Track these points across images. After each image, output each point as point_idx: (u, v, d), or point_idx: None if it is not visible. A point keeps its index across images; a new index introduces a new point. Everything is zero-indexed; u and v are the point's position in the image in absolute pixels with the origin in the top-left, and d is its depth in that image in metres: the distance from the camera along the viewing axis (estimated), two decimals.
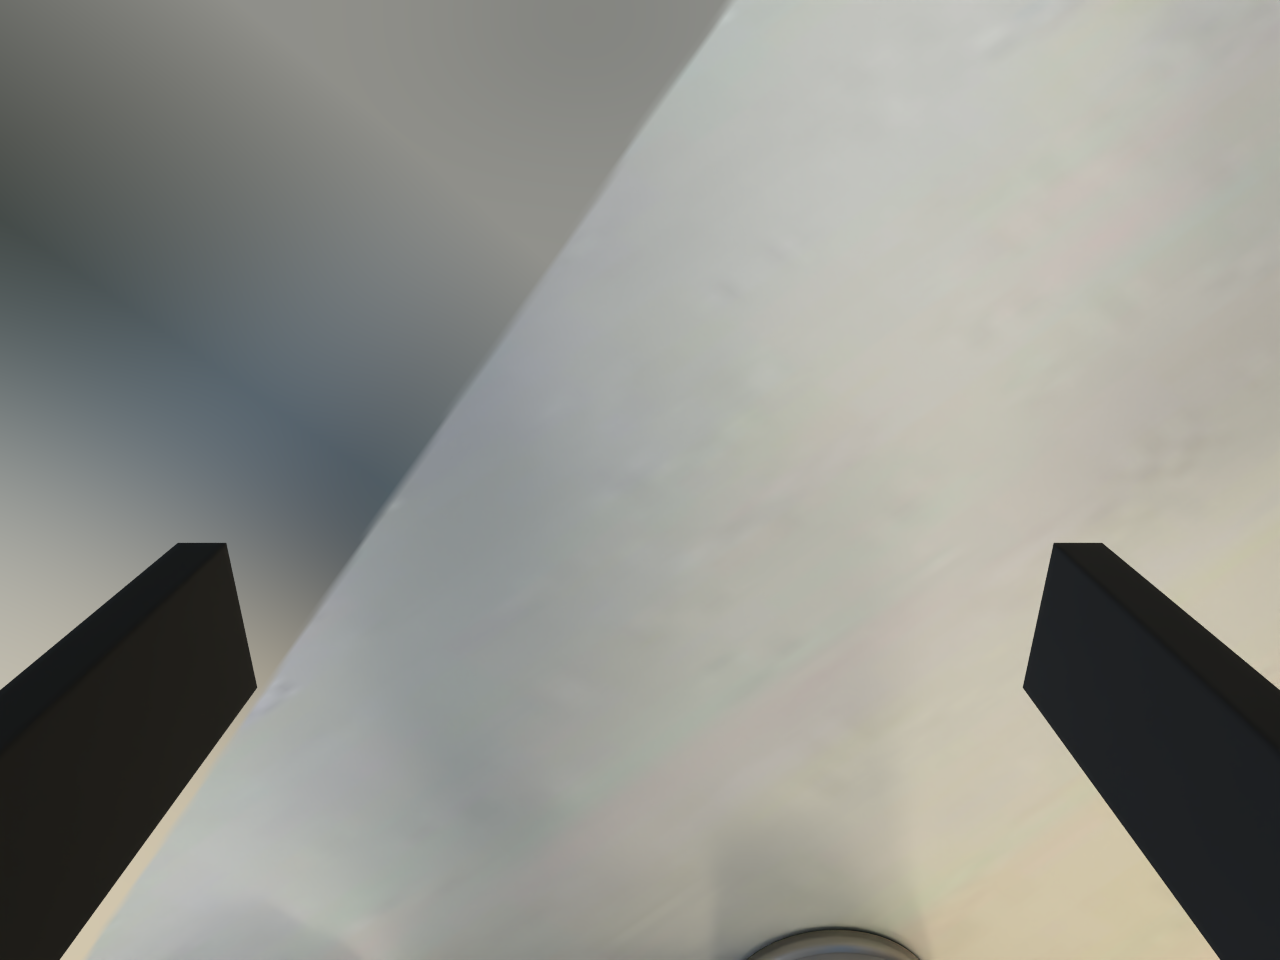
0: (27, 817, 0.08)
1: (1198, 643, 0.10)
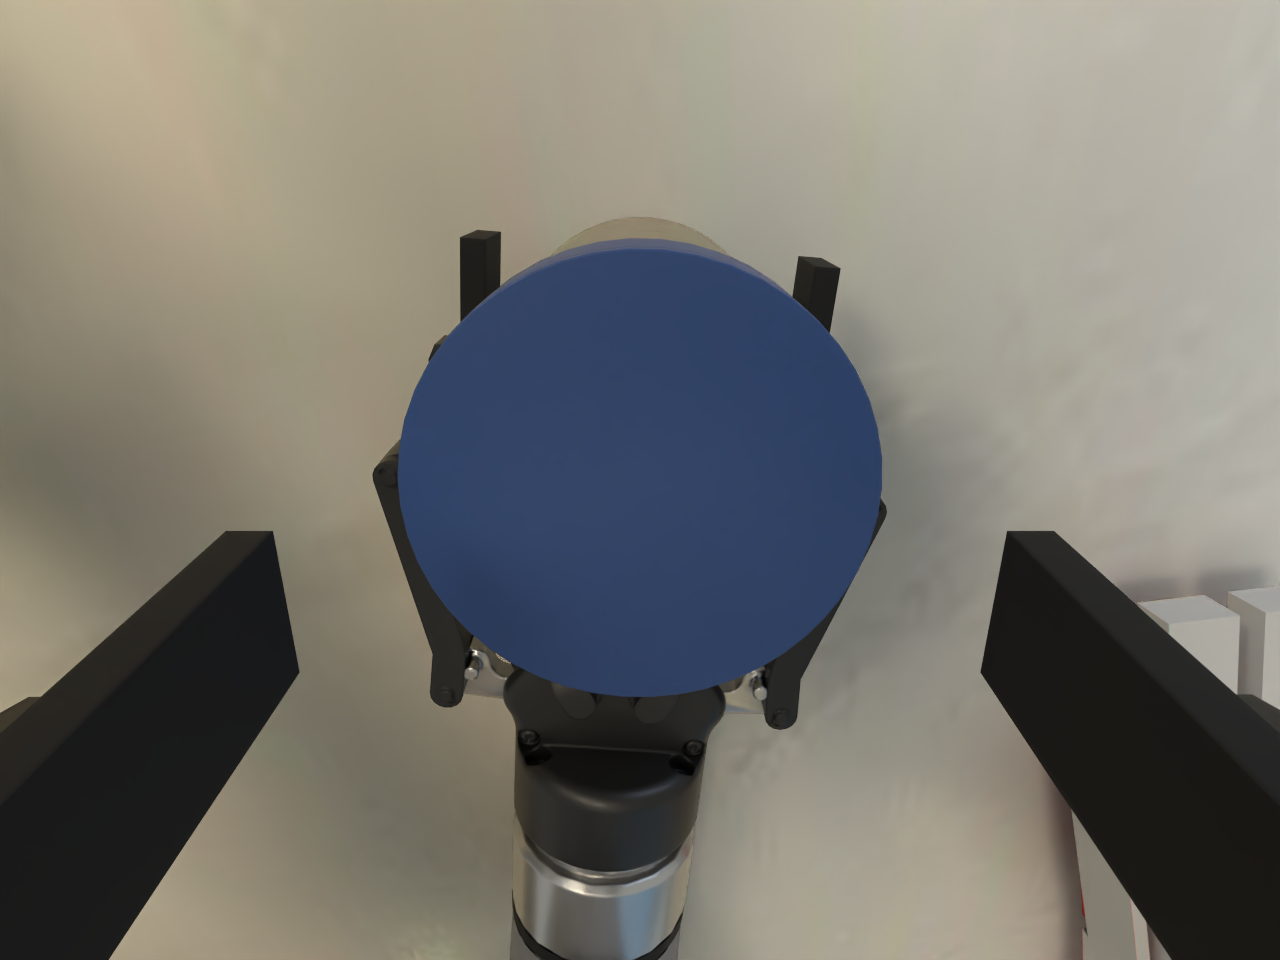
0: (104, 787, 0.09)
1: (1134, 624, 0.10)
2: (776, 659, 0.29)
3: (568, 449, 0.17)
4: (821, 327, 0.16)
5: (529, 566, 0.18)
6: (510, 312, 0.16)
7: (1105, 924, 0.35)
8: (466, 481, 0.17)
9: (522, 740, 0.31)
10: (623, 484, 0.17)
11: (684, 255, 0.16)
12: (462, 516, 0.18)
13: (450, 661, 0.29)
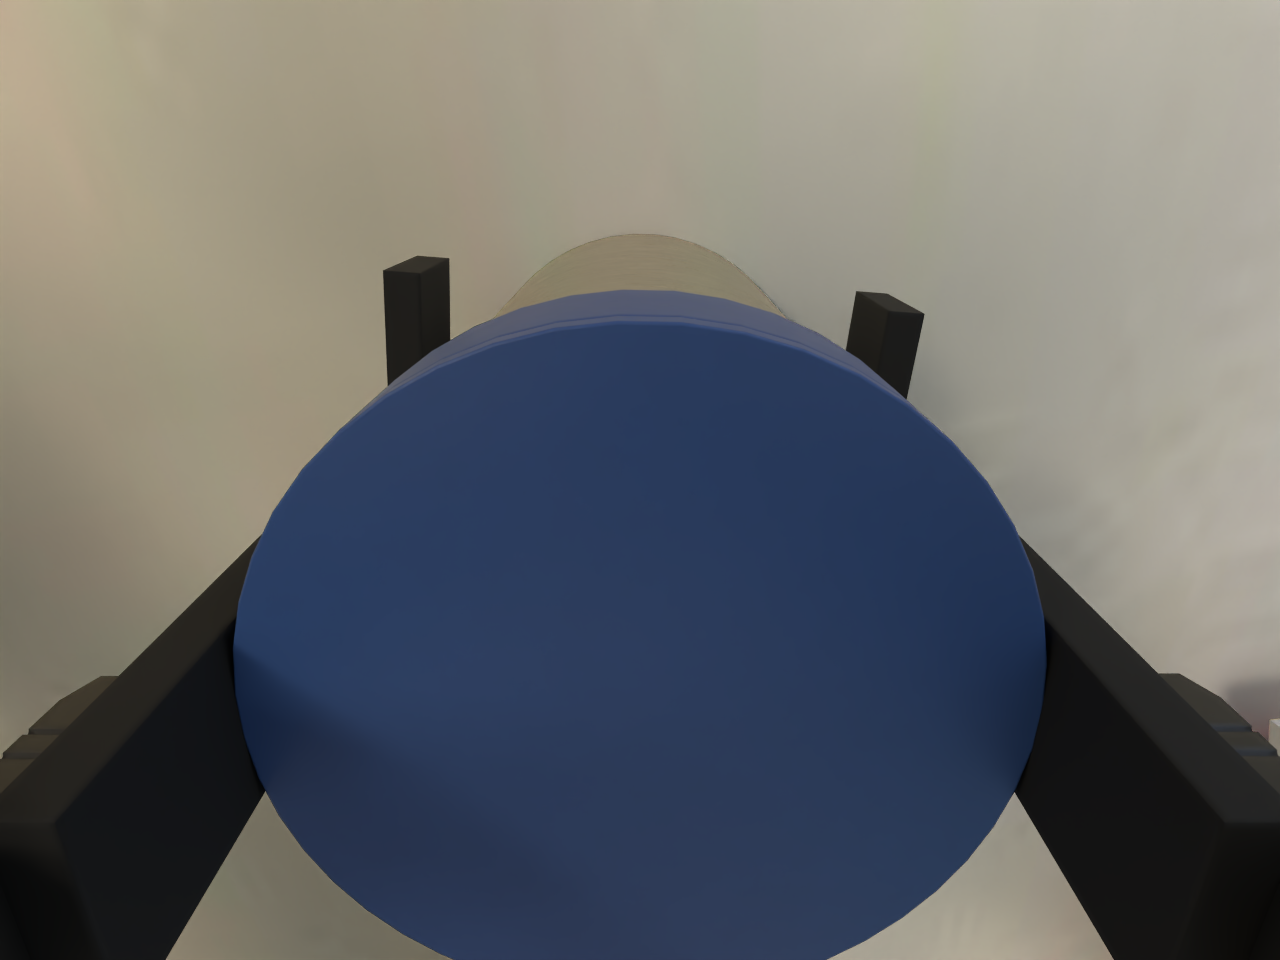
0: (182, 760, 0.09)
1: (1068, 607, 0.11)
2: None
3: (518, 649, 0.10)
4: (960, 455, 0.09)
5: (459, 821, 0.11)
6: (410, 430, 0.09)
7: None
8: (349, 697, 0.10)
9: None
10: (612, 702, 0.10)
11: (720, 333, 0.09)
12: (346, 749, 0.11)
13: None
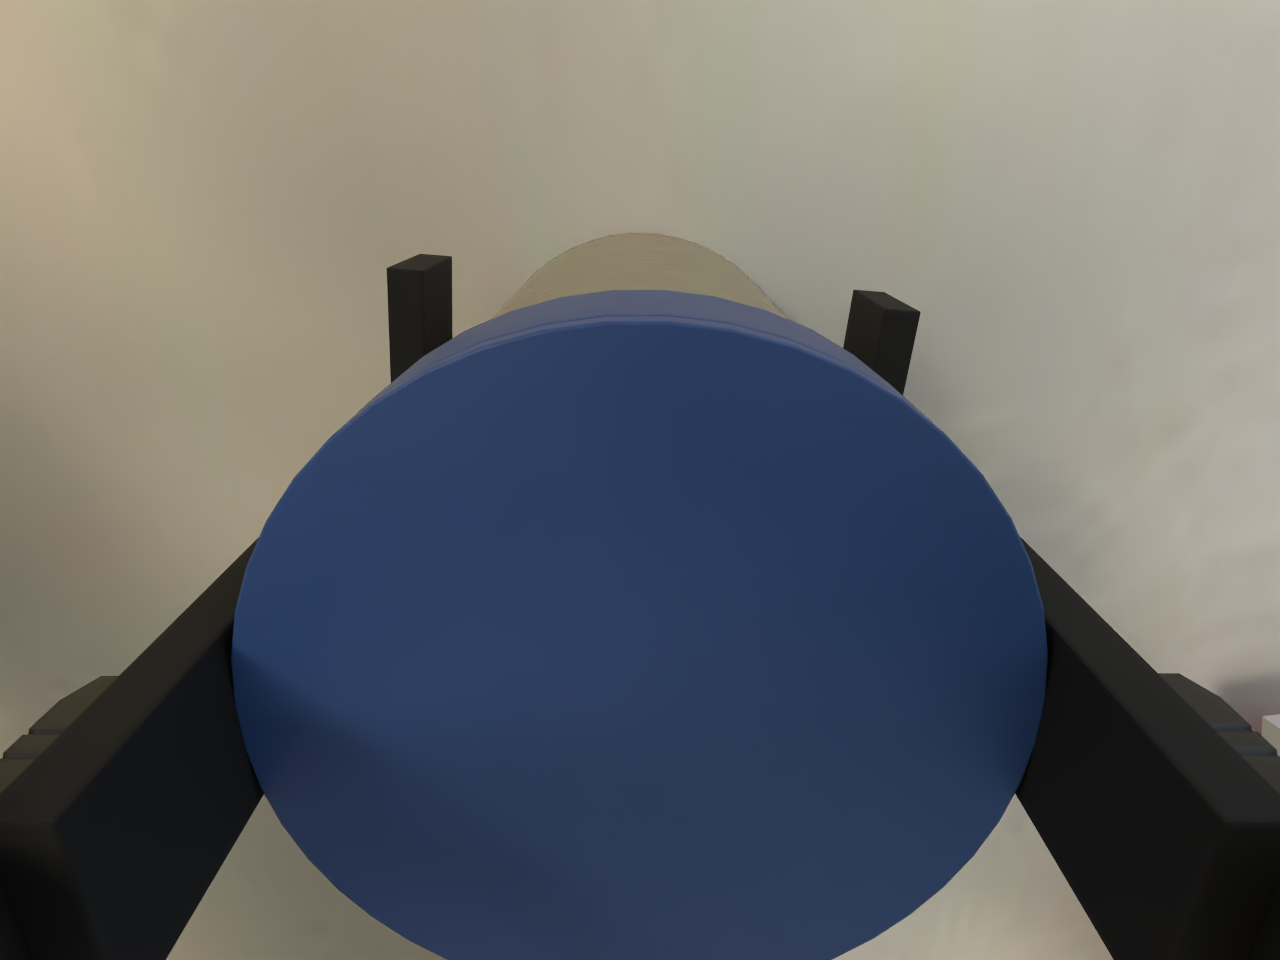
0: (182, 760, 0.09)
1: (1067, 607, 0.11)
2: None
3: (545, 807, 0.11)
4: (342, 432, 0.09)
5: (737, 876, 0.11)
6: (335, 848, 0.11)
7: None
8: (585, 928, 0.12)
9: None
10: (611, 744, 0.11)
11: (235, 631, 0.10)
12: (640, 939, 0.12)
13: None
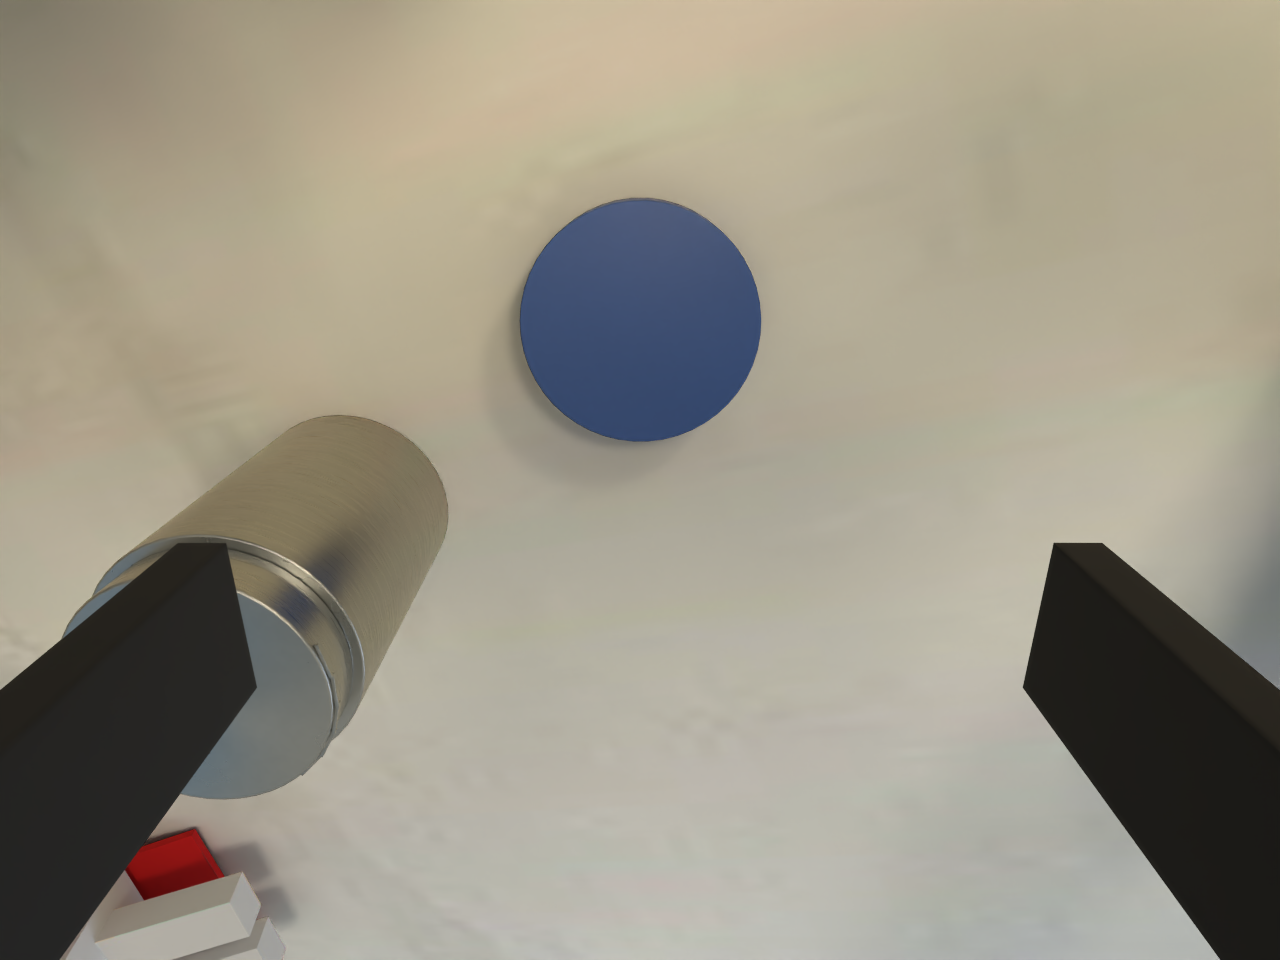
0: (27, 817, 0.08)
1: (1198, 643, 0.10)
2: None
3: (611, 359, 0.36)
4: (561, 231, 0.34)
5: (671, 386, 0.36)
6: (544, 375, 0.36)
7: None
8: (622, 409, 0.36)
9: None
10: (632, 335, 0.35)
11: (523, 294, 0.34)
12: (640, 413, 0.36)
13: None
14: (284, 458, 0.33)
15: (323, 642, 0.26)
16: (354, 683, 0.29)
